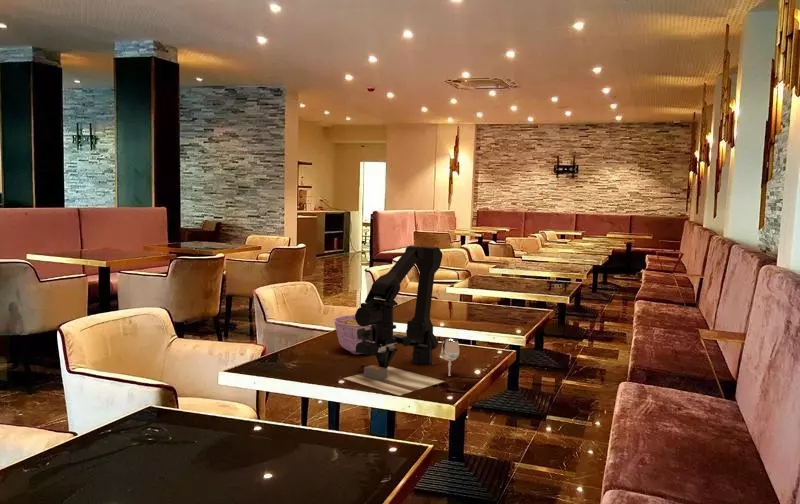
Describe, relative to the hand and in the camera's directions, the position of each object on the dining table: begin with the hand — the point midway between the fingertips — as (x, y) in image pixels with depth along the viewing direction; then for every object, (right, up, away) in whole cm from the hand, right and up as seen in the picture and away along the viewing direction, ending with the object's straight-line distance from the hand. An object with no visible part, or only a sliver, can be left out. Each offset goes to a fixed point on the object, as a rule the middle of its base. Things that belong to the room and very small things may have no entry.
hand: (383, 371), depth 200 cm
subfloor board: (+3, -3, -4) cm, 6 cm away
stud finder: (-2, -1, -2) cm, 3 cm away
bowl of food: (-9, +1, +34) cm, 35 cm away
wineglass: (+20, -3, +2) cm, 21 cm away
